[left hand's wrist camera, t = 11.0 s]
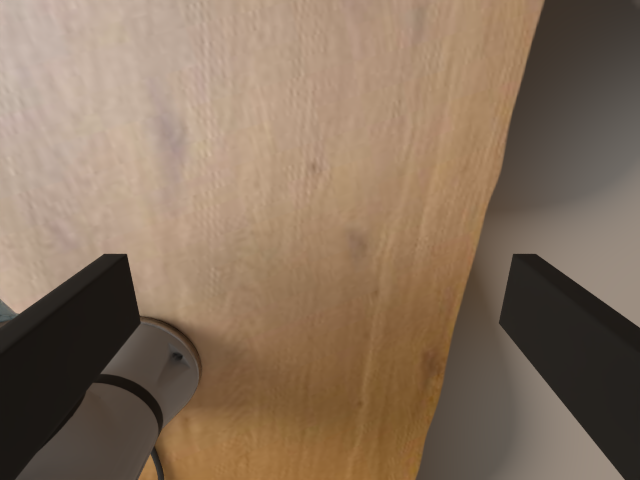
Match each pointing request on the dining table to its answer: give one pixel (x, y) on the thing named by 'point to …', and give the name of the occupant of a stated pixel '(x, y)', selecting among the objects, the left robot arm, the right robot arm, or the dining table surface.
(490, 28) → the dining table surface
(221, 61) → the dining table surface
